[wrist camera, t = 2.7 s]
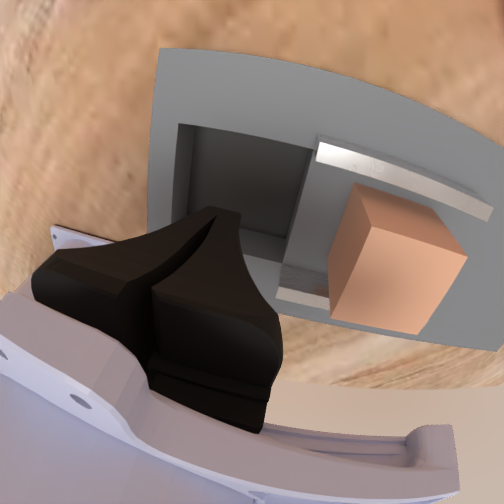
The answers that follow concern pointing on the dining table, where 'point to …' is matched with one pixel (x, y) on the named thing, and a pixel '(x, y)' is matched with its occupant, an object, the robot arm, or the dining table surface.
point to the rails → (385, 169)
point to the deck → (317, 175)
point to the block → (390, 262)
